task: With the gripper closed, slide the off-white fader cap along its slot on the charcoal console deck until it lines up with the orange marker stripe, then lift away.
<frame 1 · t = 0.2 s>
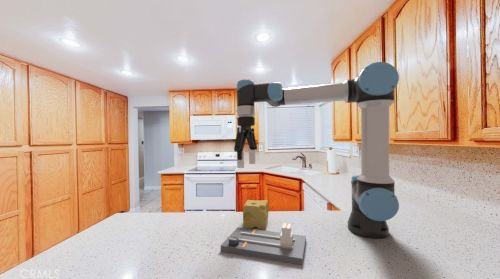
hand: (246, 165, 92), 28 cm above the worktop, fingers open, 13 cm apart
fader: (286, 234, 75), point 5 cm above the worktop, slide at -8.0 cm
console: (265, 245, 77), on the worktop
cheese: (255, 224, 97), on the worktop
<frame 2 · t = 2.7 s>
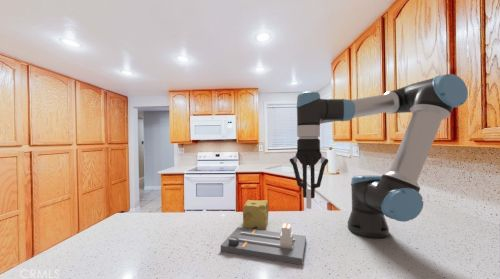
hand: (308, 207, 72), 16 cm above the worktop, fingers closed
nothing on the worktop moved.
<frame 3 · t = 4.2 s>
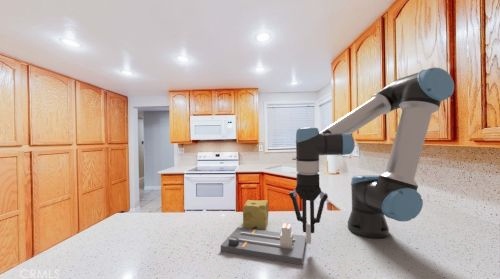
hand: (308, 241, 72), 4 cm above the worktop, fingers closed
nothing on the worktop moved.
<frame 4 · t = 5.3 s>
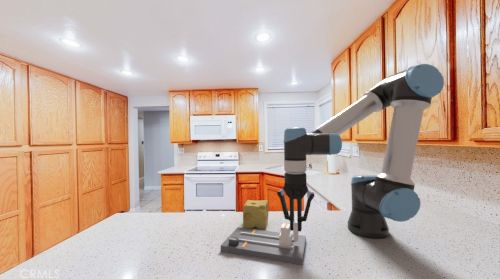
hand: (296, 239, 74), 4 cm above the worktop, fingers closed
fader: (285, 233, 75), point 5 cm above the worktop, slide at -7.7 cm, touching gripper
everything else where it was.
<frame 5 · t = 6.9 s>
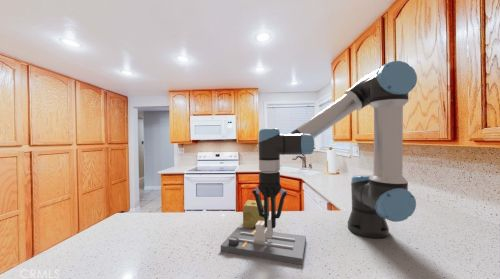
hand: (270, 236, 77), 4 cm above the worktop, fingers closed
fader: (260, 230, 78), point 5 cm above the worktop, slide at 1.5 cm, touching gripper
everything else where it was.
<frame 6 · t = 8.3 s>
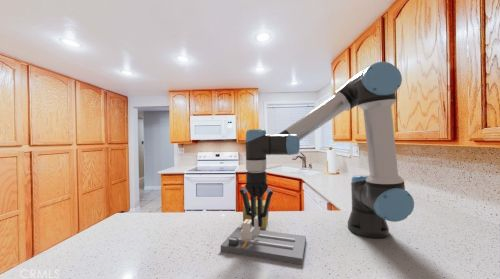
hand: (257, 234, 78), 4 cm above the worktop, fingers closed
fader: (248, 229, 79), point 5 cm above the worktop, slide at 6.5 cm, touching gripper
everything else where it was.
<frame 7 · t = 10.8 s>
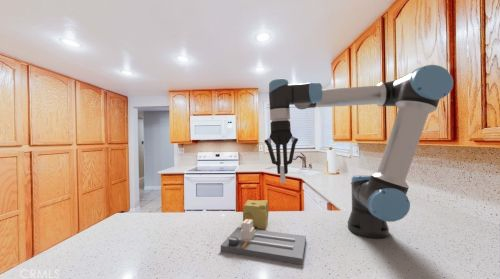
hand: (283, 182, 81), 22 cm above the worktop, fingers closed
fader: (247, 229, 80), point 5 cm above the worktop, slide at 6.6 cm
everything else where it was.
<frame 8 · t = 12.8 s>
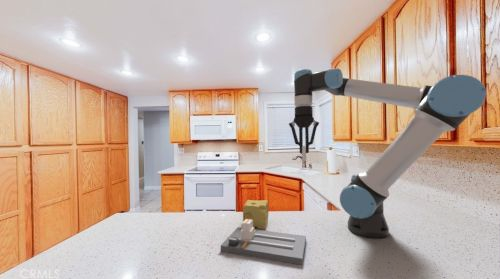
hand: (304, 160, 92), 29 cm above the worktop, fingers closed
nothing on the worktop moved.
at the end: fader slide at 6.6 cm; fader touching nothing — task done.
